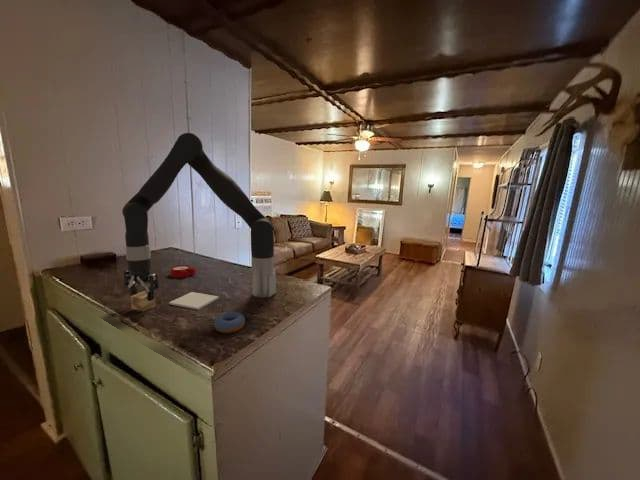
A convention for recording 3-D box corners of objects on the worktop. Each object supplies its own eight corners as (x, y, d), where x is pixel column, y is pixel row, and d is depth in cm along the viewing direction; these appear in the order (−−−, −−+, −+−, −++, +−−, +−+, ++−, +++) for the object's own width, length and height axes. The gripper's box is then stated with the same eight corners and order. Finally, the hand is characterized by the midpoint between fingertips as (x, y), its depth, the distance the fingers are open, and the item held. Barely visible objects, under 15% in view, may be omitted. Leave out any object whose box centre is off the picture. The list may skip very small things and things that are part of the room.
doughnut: (206, 330, 90) (207, 317, 89) (227, 318, 99) (228, 306, 98) (231, 339, 86) (232, 325, 86) (250, 326, 96) (251, 314, 95)
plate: (218, 298, 116) (218, 296, 116) (198, 309, 105) (198, 307, 104) (191, 293, 120) (191, 291, 120) (169, 304, 109) (169, 302, 109)
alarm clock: (180, 264, 152) (199, 261, 145) (183, 275, 153) (202, 273, 146) (163, 269, 143) (182, 266, 136) (166, 280, 143) (185, 278, 137)
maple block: (155, 306, 107) (154, 293, 106) (142, 312, 102) (141, 298, 101) (145, 304, 108) (143, 291, 107) (131, 310, 103) (130, 296, 102)
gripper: (162, 257, 103) (165, 297, 106) (134, 253, 107) (137, 292, 110) (144, 261, 96) (147, 305, 99) (114, 257, 100) (118, 299, 103)
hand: (142, 298), depth 104 cm, fingers open, 8 cm apart
